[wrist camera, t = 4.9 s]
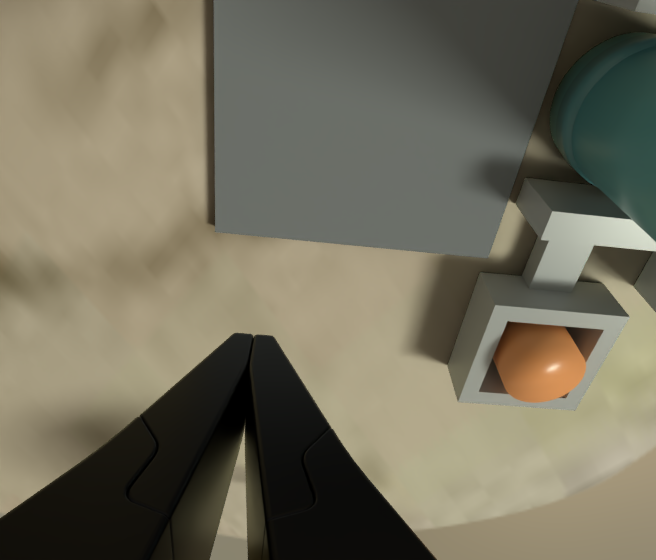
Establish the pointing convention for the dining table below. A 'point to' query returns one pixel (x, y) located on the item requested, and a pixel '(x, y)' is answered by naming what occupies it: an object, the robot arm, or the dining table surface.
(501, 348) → the plunger
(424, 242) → the mat
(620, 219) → the housing
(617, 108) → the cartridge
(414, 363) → the dining table surface
